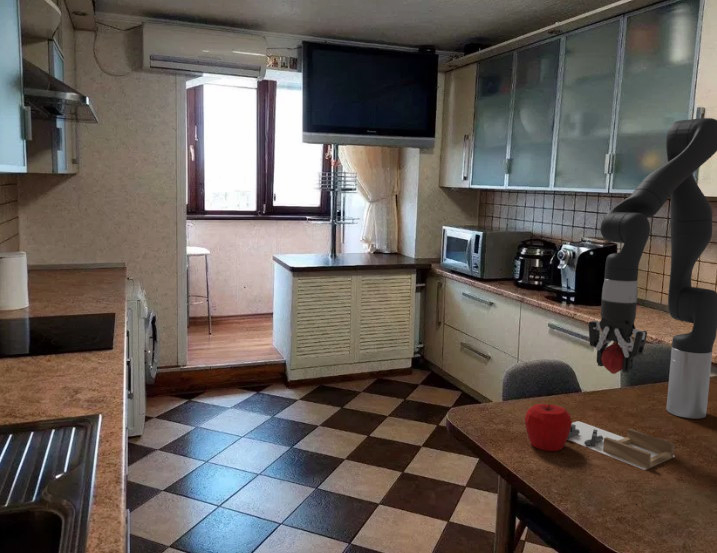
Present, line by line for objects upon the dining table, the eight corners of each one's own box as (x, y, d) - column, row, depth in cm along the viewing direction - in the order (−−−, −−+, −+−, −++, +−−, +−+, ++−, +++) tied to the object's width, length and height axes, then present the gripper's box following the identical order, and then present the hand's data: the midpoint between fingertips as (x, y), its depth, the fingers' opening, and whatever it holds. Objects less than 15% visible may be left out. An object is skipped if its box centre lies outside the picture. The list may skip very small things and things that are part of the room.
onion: (629, 378, 140) (631, 344, 139) (602, 376, 141) (605, 342, 140) (624, 371, 146) (626, 338, 145) (598, 369, 147) (600, 337, 146)
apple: (569, 445, 138) (572, 399, 136) (569, 462, 129) (573, 413, 127) (524, 439, 141) (527, 393, 139) (521, 455, 132) (524, 407, 130)
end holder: (629, 441, 138) (630, 428, 137) (673, 457, 129) (674, 443, 129) (603, 451, 132) (604, 438, 131) (647, 468, 124) (648, 454, 123)
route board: (578, 425, 150) (579, 411, 149) (675, 461, 130) (676, 445, 130) (540, 438, 142) (541, 423, 141) (638, 478, 122) (639, 461, 122)
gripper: (658, 302, 137) (651, 374, 139) (601, 293, 149) (596, 359, 151) (638, 304, 133) (632, 379, 135) (582, 295, 145) (577, 363, 147)
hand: (613, 368), depth 143 cm, fingers closed on onion, 6 cm apart
